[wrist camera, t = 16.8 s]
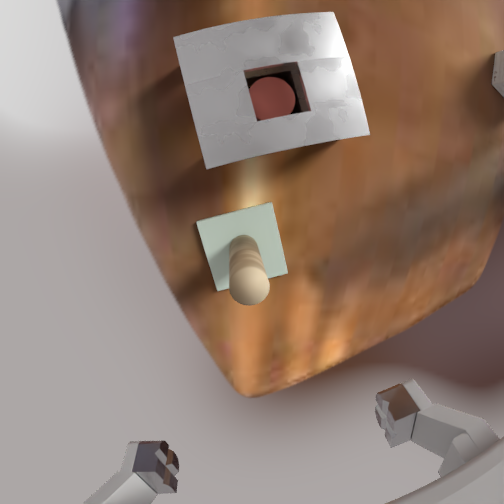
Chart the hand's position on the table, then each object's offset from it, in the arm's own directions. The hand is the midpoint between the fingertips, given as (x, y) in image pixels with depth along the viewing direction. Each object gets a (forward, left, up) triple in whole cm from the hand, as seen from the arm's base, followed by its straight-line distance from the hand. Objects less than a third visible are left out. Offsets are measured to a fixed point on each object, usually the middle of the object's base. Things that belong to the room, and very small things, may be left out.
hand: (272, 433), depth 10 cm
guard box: (-6, -15, -24) cm, 29 cm away
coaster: (0, 0, -24) cm, 24 cm away
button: (-6, -14, -23) cm, 28 cm away
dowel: (0, 0, -24) cm, 24 cm away
